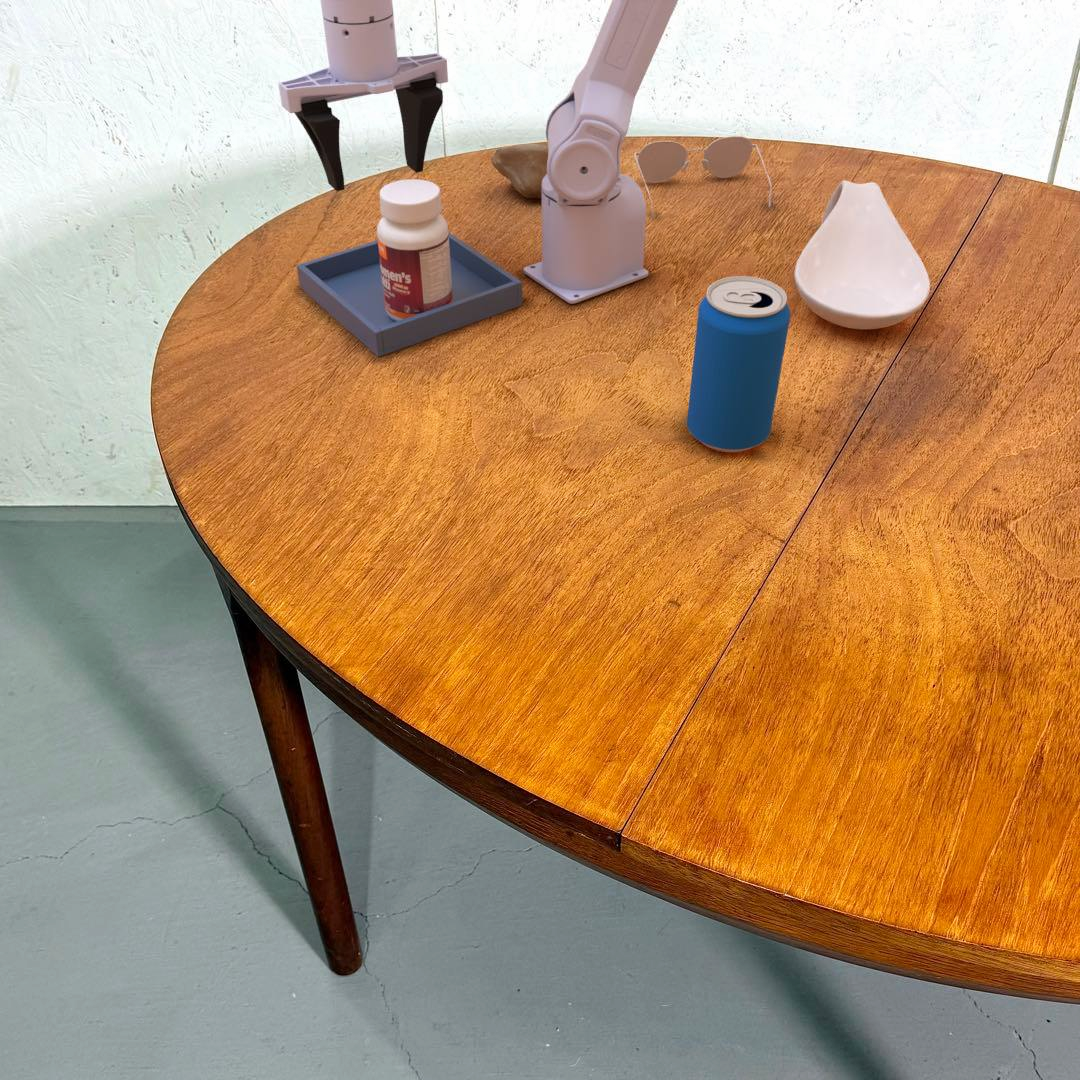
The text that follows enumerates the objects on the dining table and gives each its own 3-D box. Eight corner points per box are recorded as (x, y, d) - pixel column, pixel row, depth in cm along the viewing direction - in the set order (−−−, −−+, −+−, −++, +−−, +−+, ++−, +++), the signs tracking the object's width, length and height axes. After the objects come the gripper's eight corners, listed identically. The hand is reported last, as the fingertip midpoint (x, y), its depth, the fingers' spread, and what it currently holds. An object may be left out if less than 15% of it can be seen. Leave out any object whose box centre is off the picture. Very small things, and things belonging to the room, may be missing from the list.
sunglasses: (750, 175, 120) (758, 134, 116) (772, 218, 114) (781, 177, 111) (630, 184, 118) (634, 142, 114) (646, 228, 113) (651, 186, 109)
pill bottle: (371, 313, 96) (356, 192, 89) (419, 287, 100) (409, 169, 92) (419, 335, 93) (408, 213, 86) (467, 308, 97) (460, 188, 89)
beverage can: (767, 462, 80) (791, 322, 72) (681, 453, 81) (696, 313, 73) (771, 414, 85) (794, 277, 77) (690, 405, 86) (704, 269, 78)
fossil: (595, 146, 111) (503, 134, 108) (595, 187, 111) (503, 176, 108) (567, 176, 120) (482, 165, 117) (567, 214, 120) (481, 205, 117)
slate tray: (436, 244, 107) (435, 222, 106) (522, 305, 98) (522, 281, 96) (300, 288, 101) (296, 264, 99) (378, 357, 92) (375, 332, 90)
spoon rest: (928, 353, 91) (949, 277, 87) (790, 343, 93) (803, 268, 88) (899, 231, 109) (915, 162, 104) (783, 224, 110) (793, 156, 105)
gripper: (290, 42, 81) (316, 211, 90) (460, 12, 86) (468, 175, 95) (259, 18, 85) (287, 182, 94) (422, -8, 91) (434, 149, 100)
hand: (376, 177), depth 95 cm, fingers open, 7 cm apart
